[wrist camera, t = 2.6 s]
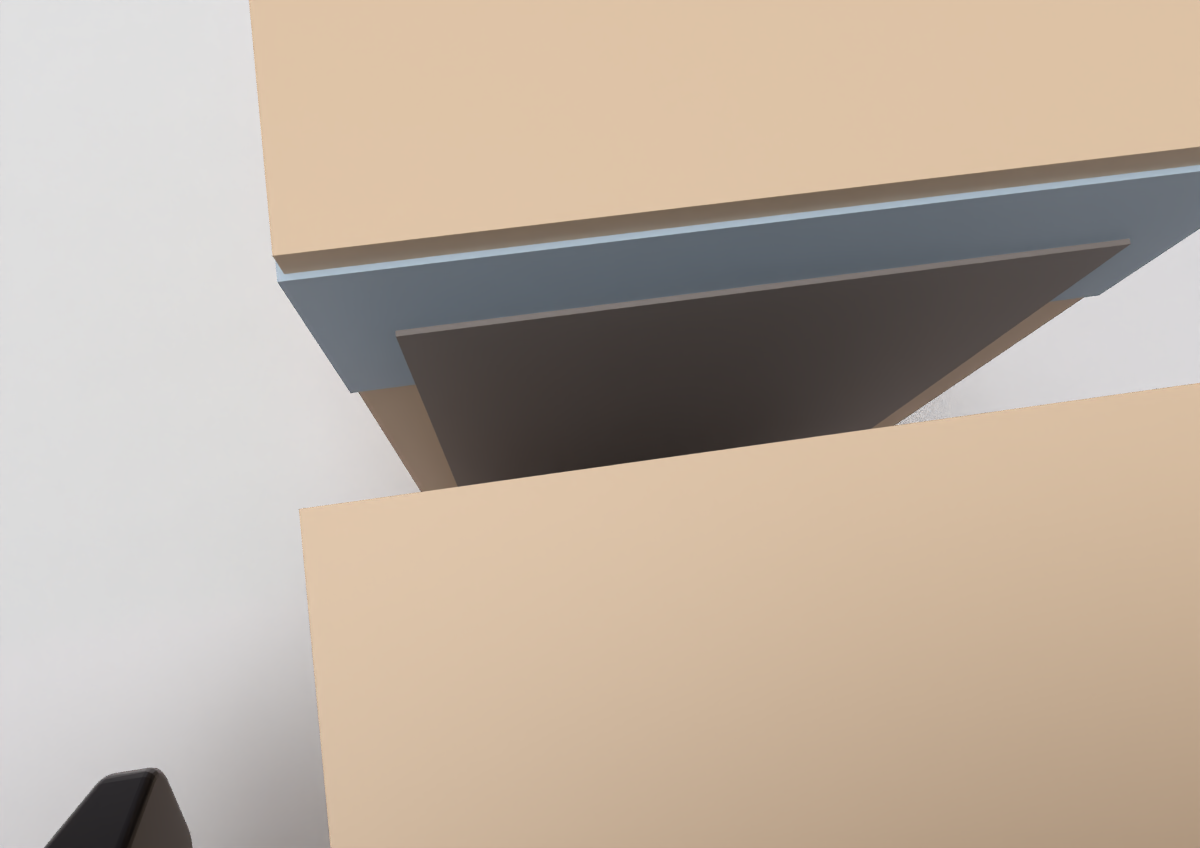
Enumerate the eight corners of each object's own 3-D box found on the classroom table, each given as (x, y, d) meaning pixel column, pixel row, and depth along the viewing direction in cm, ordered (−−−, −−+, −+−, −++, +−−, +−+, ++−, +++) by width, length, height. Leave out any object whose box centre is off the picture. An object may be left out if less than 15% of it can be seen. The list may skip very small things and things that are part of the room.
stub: (824, 863, 15) (1785, 1502, 4) (507, 919, 15) (416, 1858, 3) (771, 578, 16) (1400, 339, 4) (471, 624, 16) (289, 495, 4)
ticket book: (760, 521, 16) (1342, 143, 5) (462, 565, 16) (267, 270, 4) (663, -3, 18) (896, -1205, 7) (395, 24, 18) (132, -1209, 6)
